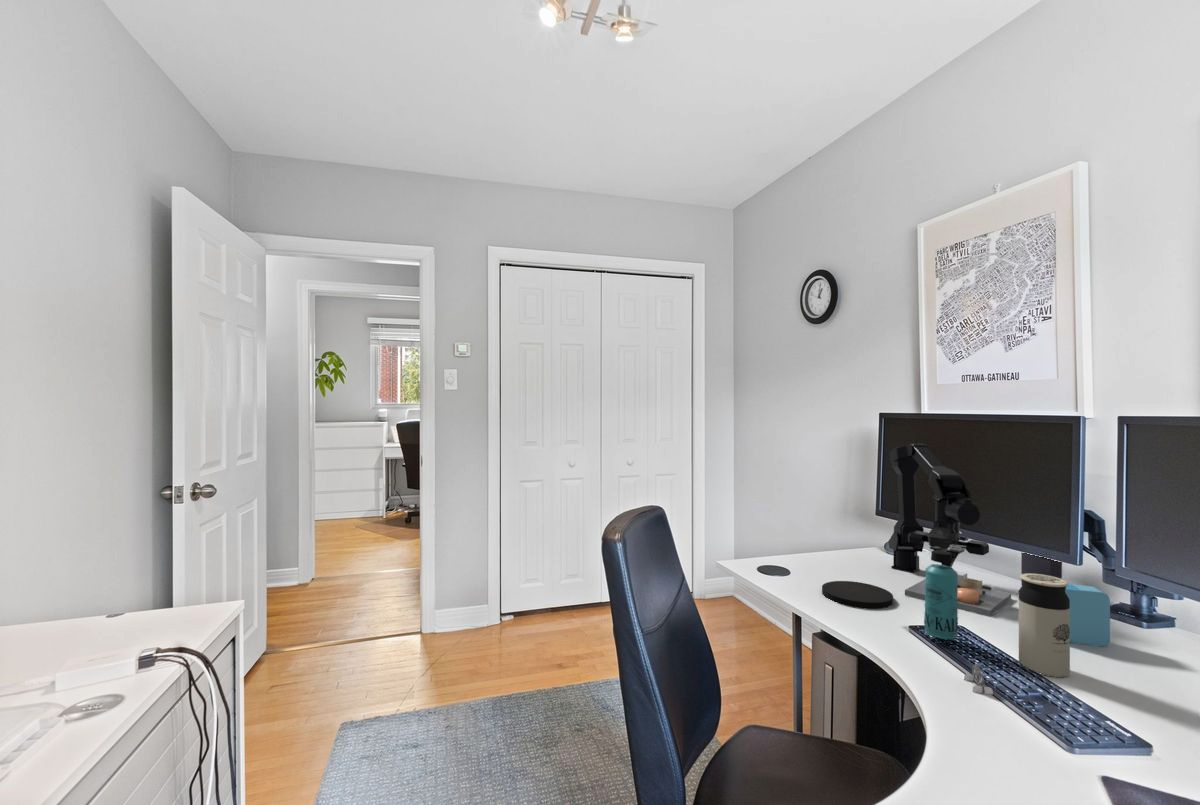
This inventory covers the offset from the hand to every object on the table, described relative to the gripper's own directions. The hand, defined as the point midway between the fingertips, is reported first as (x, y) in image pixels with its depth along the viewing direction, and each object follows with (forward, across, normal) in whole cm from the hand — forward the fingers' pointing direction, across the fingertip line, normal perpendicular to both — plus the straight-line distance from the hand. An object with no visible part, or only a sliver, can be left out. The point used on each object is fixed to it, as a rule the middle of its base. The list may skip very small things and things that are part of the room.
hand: (946, 572), depth 154 cm
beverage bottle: (+6, +10, -37) cm, 39 cm away
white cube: (+4, +1, +6) cm, 7 cm away
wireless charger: (+6, -15, -23) cm, 28 cm away
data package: (+6, +29, -13) cm, 32 cm away
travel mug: (+6, +28, -36) cm, 46 cm away
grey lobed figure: (+7, +24, -58) cm, 63 cm away
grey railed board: (+6, +3, -1) cm, 7 cm away
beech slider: (+4, +6, 0) cm, 7 cm away
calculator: (+6, +17, +23) cm, 29 cm away
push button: (+5, +7, -7) cm, 11 cm away
